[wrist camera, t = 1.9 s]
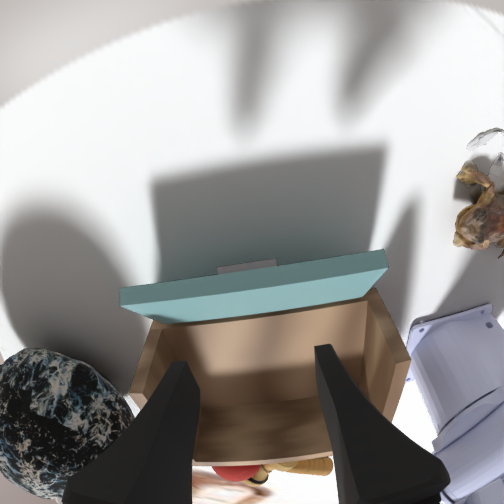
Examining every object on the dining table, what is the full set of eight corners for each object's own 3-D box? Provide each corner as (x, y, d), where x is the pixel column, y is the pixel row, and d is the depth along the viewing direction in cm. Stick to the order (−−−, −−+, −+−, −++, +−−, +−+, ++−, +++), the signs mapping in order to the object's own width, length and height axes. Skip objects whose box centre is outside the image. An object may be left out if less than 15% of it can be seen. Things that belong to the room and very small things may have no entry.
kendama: (345, 437, 36) (233, 423, 28) (350, 478, 31) (232, 479, 24) (306, 449, 40) (198, 435, 33) (308, 486, 35) (196, 482, 28)
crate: (375, 288, 22) (411, 359, 15) (365, 382, 27) (382, 444, 21) (153, 319, 23) (128, 393, 17) (196, 403, 28) (188, 465, 22)
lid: (358, 276, 21) (381, 239, 15) (362, 296, 20) (388, 267, 14) (164, 304, 22) (119, 279, 16) (165, 324, 22) (119, 305, 15)
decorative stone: (136, 429, 32) (113, 534, 19) (22, 376, 29) (-22, 469, 15) (170, 362, 25) (137, 526, 12) (14, 286, 22) (-74, 409, 9)
